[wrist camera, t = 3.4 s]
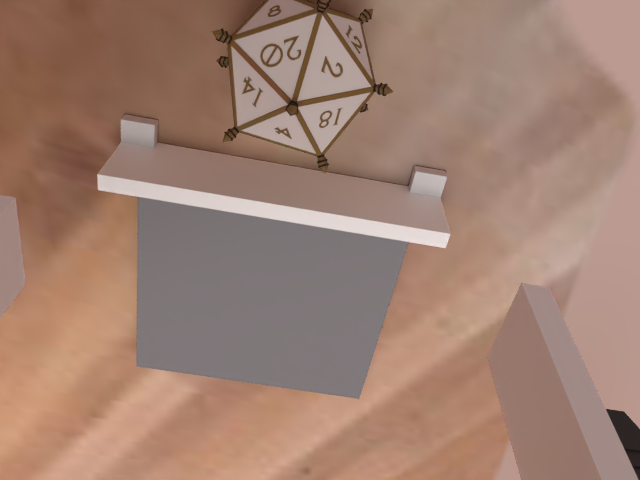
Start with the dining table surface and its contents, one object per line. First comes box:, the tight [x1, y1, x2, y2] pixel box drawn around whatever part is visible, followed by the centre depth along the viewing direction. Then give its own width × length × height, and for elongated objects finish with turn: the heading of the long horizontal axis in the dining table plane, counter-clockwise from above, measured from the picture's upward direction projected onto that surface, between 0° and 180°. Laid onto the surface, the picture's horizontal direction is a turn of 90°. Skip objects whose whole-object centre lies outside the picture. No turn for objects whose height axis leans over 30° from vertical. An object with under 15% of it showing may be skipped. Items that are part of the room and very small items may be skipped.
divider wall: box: [97, 114, 450, 248], centre depth 36 cm, size 4×20×5 cm, turn 80°
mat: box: [137, 197, 409, 399], centre depth 43 cm, size 18×18×1 cm
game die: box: [212, 0, 393, 173], centre depth 29 cm, size 9×8×10 cm
